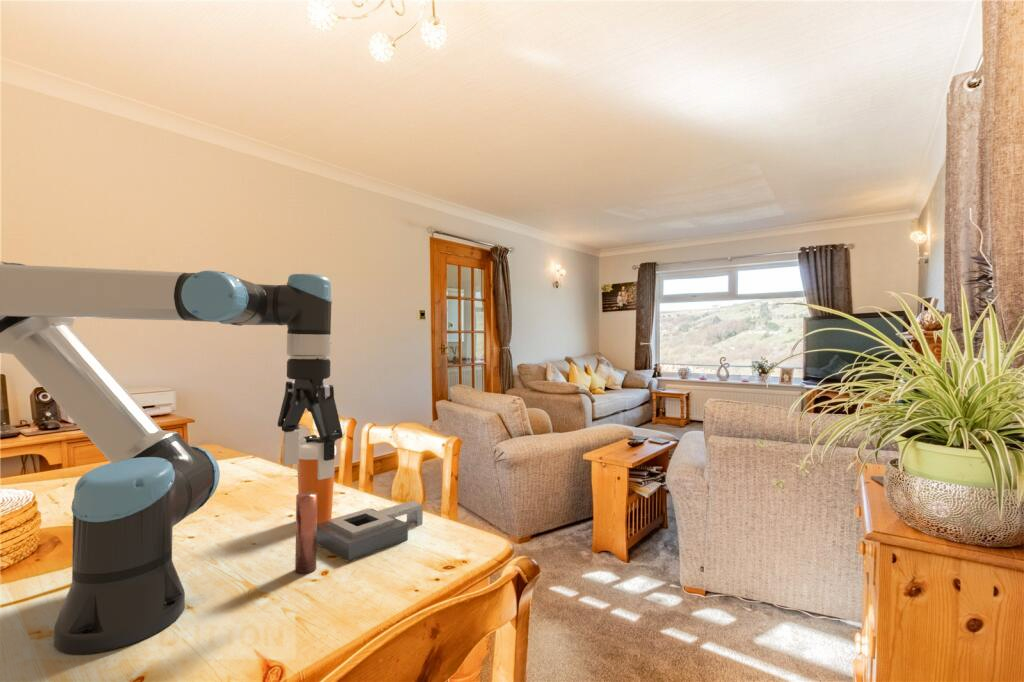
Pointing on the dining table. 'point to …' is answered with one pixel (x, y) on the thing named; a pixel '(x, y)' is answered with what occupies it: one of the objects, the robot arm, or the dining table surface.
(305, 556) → the copper cylinder
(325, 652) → the dining table surface
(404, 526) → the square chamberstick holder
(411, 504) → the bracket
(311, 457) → the shaker bottle
